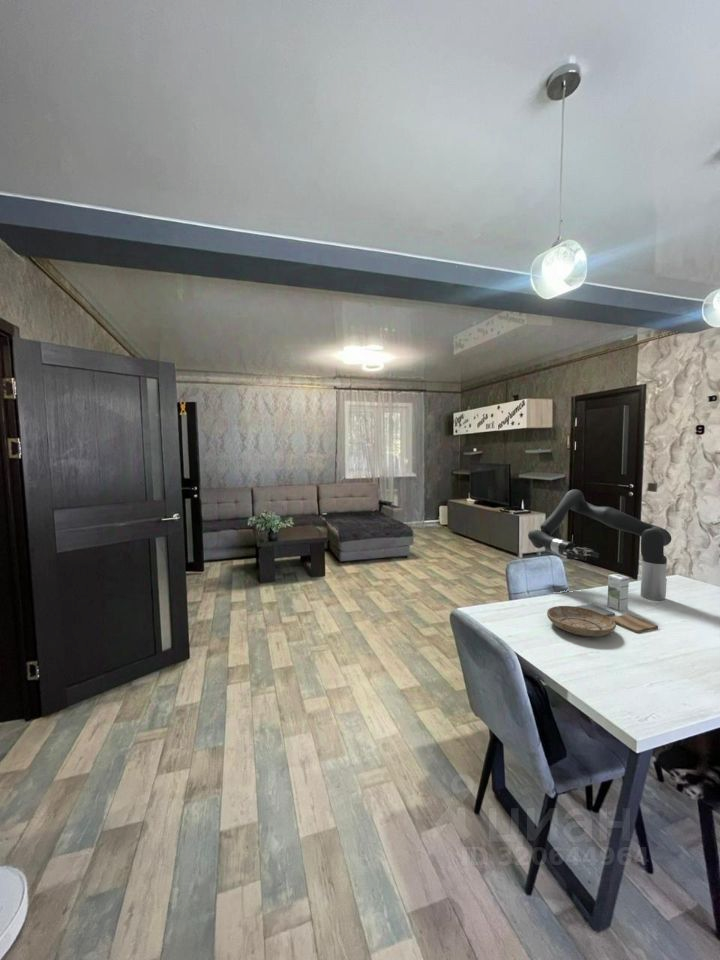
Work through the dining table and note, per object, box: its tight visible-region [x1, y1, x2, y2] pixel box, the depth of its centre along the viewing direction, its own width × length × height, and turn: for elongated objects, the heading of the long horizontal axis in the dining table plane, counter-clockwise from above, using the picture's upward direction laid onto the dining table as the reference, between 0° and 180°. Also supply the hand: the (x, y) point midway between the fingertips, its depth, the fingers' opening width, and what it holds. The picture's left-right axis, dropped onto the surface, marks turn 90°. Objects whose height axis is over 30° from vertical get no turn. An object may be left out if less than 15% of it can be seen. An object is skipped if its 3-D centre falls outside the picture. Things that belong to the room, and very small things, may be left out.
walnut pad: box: [609, 613, 659, 634], centre depth 157 cm, size 12×12×1 cm
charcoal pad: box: [575, 603, 616, 617], centre depth 168 cm, size 11×11×1 cm
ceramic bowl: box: [546, 605, 617, 637], centre depth 153 cm, size 23×24×5 cm
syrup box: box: [606, 573, 630, 612], centre depth 173 cm, size 6×6×14 cm
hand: (592, 557), depth 184 cm, fingers open, 8 cm apart
